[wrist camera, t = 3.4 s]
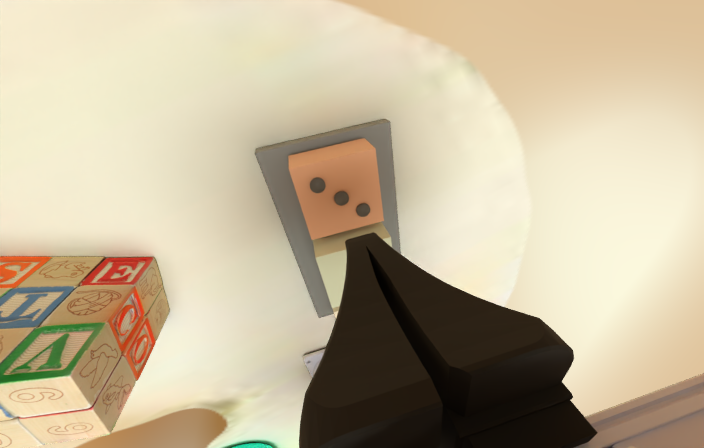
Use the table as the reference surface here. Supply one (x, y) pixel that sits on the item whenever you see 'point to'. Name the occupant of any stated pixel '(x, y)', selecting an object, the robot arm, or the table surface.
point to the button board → (289, 206)
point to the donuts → (253, 445)
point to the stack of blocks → (73, 343)
